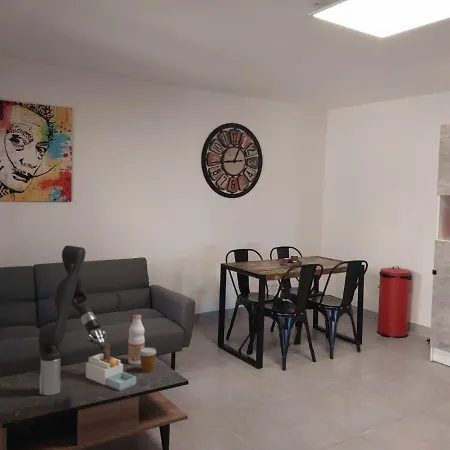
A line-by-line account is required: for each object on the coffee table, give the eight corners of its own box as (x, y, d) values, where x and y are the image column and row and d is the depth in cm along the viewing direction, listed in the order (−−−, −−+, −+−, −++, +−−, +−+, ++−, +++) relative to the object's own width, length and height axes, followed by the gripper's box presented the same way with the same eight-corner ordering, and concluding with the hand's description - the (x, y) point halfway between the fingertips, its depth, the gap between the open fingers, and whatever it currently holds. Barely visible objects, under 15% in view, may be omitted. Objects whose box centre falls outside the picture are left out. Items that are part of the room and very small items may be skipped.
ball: (108, 360, 258) (107, 367, 259) (116, 361, 259) (115, 368, 260) (109, 357, 262) (108, 364, 263) (117, 357, 263) (116, 364, 263)
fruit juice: (125, 363, 288) (125, 316, 286) (133, 358, 297) (134, 312, 295) (139, 365, 285) (140, 318, 283) (147, 360, 294) (148, 314, 291)
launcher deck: (104, 385, 256) (105, 365, 255) (85, 377, 266) (85, 358, 265) (122, 378, 266) (123, 359, 265) (103, 371, 275) (104, 352, 275)
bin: (119, 390, 250) (119, 383, 249) (105, 385, 256) (105, 377, 256) (136, 384, 258) (136, 377, 258) (122, 378, 265) (122, 371, 265)
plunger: (105, 366, 260) (105, 346, 260) (100, 364, 263) (100, 344, 262) (113, 363, 265) (113, 343, 264) (108, 361, 267) (108, 342, 266)
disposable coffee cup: (157, 368, 282) (158, 347, 281) (153, 374, 273) (154, 353, 272) (141, 367, 283) (141, 346, 282) (136, 373, 274) (137, 352, 273)
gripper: (83, 320, 264) (97, 348, 257) (103, 316, 274) (117, 342, 268) (77, 328, 268) (91, 356, 261) (97, 323, 278) (110, 350, 272)
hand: (104, 349), depth 264 cm, fingers closed
